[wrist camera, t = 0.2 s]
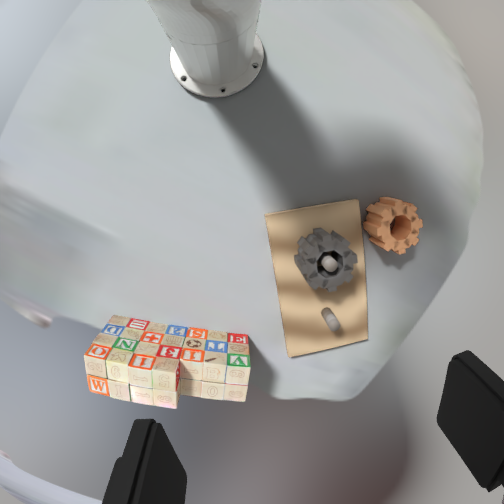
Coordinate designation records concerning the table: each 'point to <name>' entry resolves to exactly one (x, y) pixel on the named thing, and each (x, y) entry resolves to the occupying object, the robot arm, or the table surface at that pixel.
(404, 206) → the loose gear
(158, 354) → the stack of blocks
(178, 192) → the table surface
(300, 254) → the gear board
